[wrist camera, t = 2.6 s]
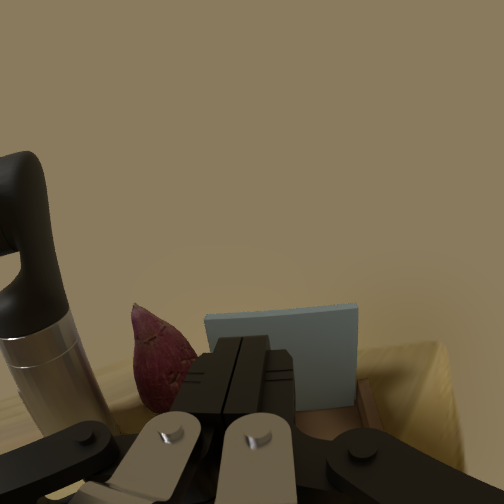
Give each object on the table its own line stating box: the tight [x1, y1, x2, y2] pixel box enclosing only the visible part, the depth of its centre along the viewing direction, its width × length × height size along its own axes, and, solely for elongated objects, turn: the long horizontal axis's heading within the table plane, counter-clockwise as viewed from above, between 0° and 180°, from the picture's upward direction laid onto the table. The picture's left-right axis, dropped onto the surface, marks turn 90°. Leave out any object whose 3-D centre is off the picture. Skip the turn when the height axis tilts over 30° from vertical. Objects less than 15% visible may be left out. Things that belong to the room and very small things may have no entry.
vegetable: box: [131, 303, 198, 413], centre depth 39 cm, size 10×10×15 cm
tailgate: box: [204, 303, 358, 411], centre depth 31 cm, size 14×2×12 cm, turn 83°
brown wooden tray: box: [296, 378, 384, 441], centre depth 24 cm, size 18×18×5 cm
